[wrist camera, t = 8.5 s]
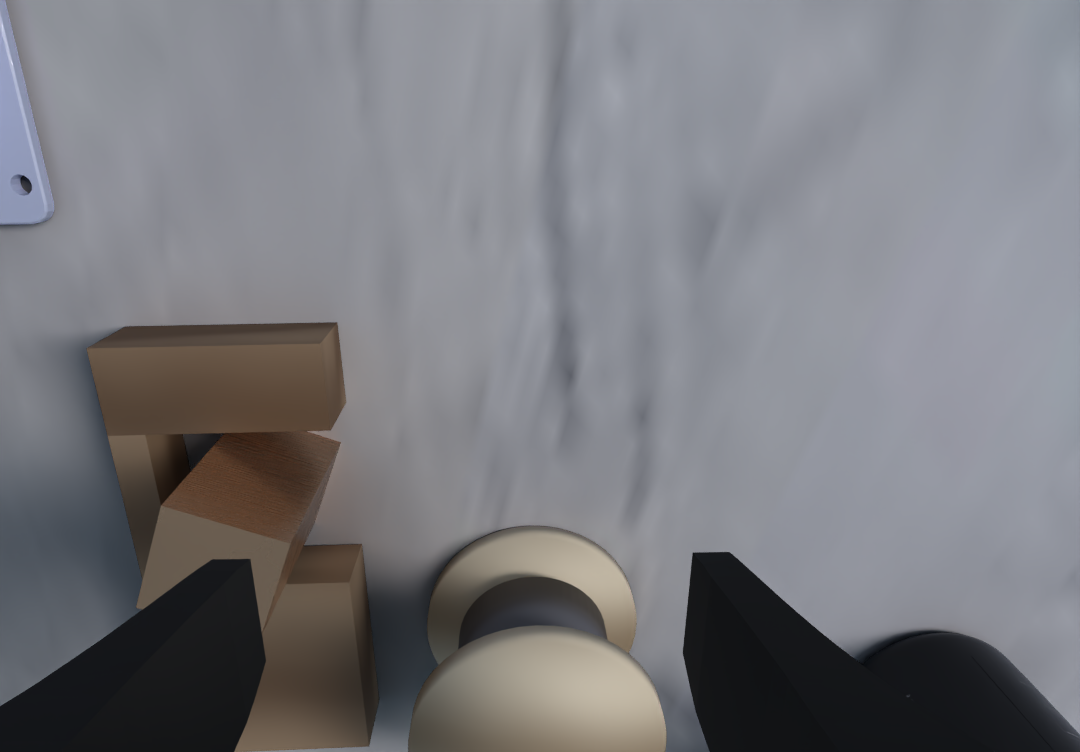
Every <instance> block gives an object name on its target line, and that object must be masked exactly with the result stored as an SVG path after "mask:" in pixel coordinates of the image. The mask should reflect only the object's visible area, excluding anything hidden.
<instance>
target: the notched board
mask: <svg viewBox="0 0 1080 752" xmlns="http://www.w3.org/2000/svg"><path fill="white" fill-rule="evenodd" d="M86 349H87V353H88V357H89V361H90V365H91V369H92V373H93V378H94V382H95V386H96V390H97V394H98V398H99V402H100V407H101V411H102V415H103V419H104V423H105V427H106V431H107V435H108V440H109V444H110V448H111V452H112V456H113V460H114V464H115V468H116V473H117V477H118V481H119V485H120V489H121V493H122V497H123V502H124V506H125V510H126V514H127V518H128V522H129V526H130V530H131V535H132V539H133V543H134V547H135V551H136V555H137V559H138V564H139V568H140V572H141V576H142V580H143V577H144V573H145V569H146V565H147V561H148V556H149V552H150V548H151V544H152V540H153V536H154V532H155V528H156V524H157V520H158V516H159V512H160V508H161V505H162V504H163V503H164V502H165V501H166V499H167V498H168V497H169V496H170V495H171V494H172V493H173V491H174V490H175V489H176V488H177V487H178V486H179V485H180V483H181V482H182V481H183V480H184V479H185V478H186V477H187V475H188V474H189V473H190V468H189V463H188V458H187V453H186V448H185V443H184V438H183V434H204V433H244V432H284V431H323V430H331V429H332V427H333V425H334V423H335V422H336V420H337V418H338V416H339V414H340V413H341V411H342V409H343V407H344V405H345V404H346V397H345V388H344V379H343V370H342V361H341V352H340V343H339V334H338V325H337V323H288V324H237V325H185V326H134V327H124V328H122V329H120V330H118V331H117V332H115V333H113V334H111V335H109V336H108V337H106V338H104V339H102V340H101V341H99V342H97V343H95V344H93V345H92V346H90V347H88V348H86ZM262 637H263V644H264V650H265V657H266V663H265V666H264V670H263V673H262V677H261V680H260V683H259V687H258V690H257V694H256V697H255V700H254V703H253V706H252V709H251V712H250V715H249V718H248V721H247V724H246V726H245V728H244V731H243V733H242V735H241V738H240V740H239V742H238V744H237V746H236V749H235V751H234V752H247V751H271V750H295V749H318V748H342V747H366V746H369V744H370V739H371V735H372V730H373V726H374V721H375V716H376V712H377V707H378V703H379V694H378V685H377V676H376V667H375V658H374V649H373V640H372V631H371V622H370V613H369V604H368V595H367V586H366V577H365V568H364V559H363V550H362V544H356V545H324V546H303V548H302V550H301V553H300V555H299V557H298V559H297V561H296V563H295V565H294V568H293V570H292V572H291V574H290V576H289V578H288V580H287V583H286V585H285V587H284V589H283V591H282V593H281V595H280V598H279V600H278V602H277V604H276V606H275V608H274V610H273V613H272V615H271V617H270V619H269V621H268V623H267V626H266V628H265V630H264V632H263V634H262Z"/></svg>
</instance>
